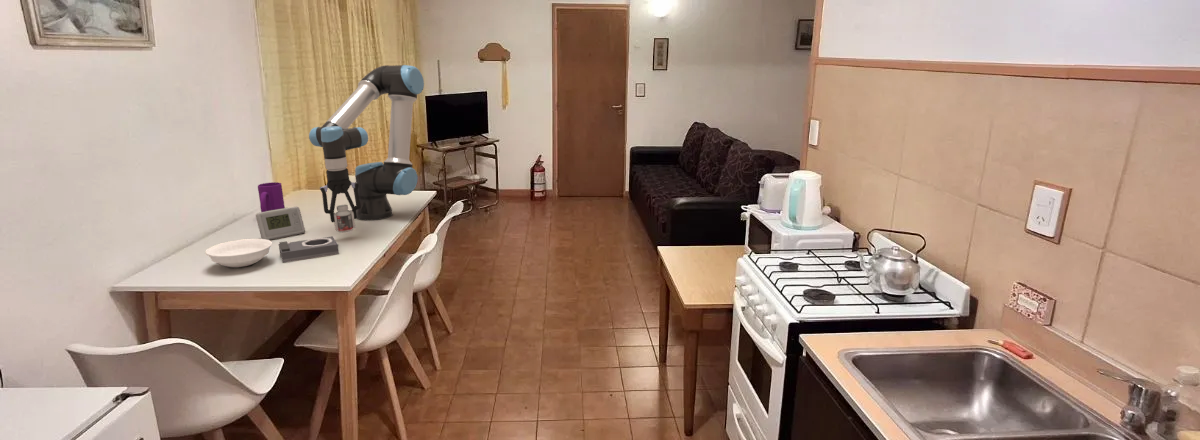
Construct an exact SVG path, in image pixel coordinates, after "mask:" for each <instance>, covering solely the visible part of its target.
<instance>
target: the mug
mask: <svg viewBox="0 0 1200 440" xmlns="http://www.w3.org/2000/svg"><path fill="white" fill-rule="evenodd" d="M257 191H258V196H259V197H258V198H259V205H260V206H259V207H260V212H266V211H270V210H276V209H282V208H286V207H285V200H284V192H283V186H282V183H281V182H263V183H260V184H257Z"/></svg>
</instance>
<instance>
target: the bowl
mask: <svg viewBox="0 0 1200 440" xmlns="http://www.w3.org/2000/svg"><path fill="white" fill-rule="evenodd" d="M272 246H273V242H272V240H266V239H262V238H244V239H236V240H230V241H226V242H221V243H218V244H215V245H213V246H210V247H208V248H206V250H205V251H204V254H205V255H206V256H208V257H210V259H211V261H212V262H213V263H217V264H219V265H221V266H225V267H228V268H242V267H247V266H251V265H254V264H255V263H257V262H259V261H260V260H262V259H263V258H264V257H265V256H267V255H268V254H269V252H270V248H271V247H272Z"/></svg>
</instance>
